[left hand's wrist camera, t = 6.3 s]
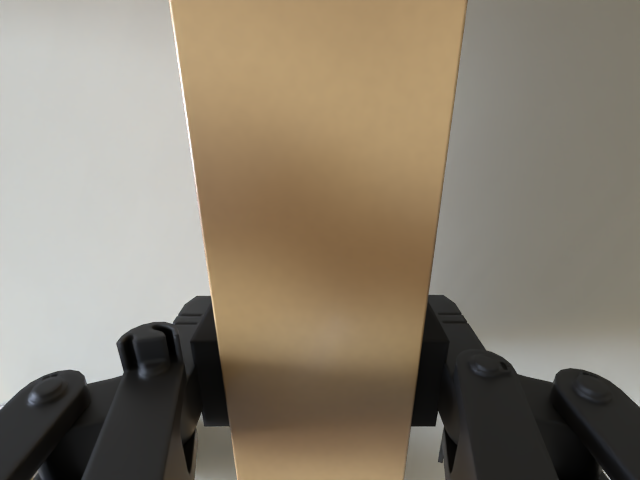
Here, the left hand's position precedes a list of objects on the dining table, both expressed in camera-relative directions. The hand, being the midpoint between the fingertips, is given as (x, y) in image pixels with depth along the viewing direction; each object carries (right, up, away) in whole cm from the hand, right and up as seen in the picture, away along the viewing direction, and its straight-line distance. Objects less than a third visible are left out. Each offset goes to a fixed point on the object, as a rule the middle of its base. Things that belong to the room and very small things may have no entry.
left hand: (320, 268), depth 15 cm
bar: (0, +21, -8) cm, 22 cm away
